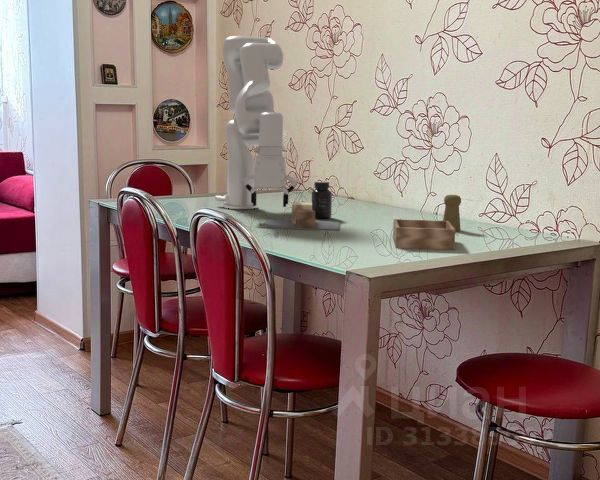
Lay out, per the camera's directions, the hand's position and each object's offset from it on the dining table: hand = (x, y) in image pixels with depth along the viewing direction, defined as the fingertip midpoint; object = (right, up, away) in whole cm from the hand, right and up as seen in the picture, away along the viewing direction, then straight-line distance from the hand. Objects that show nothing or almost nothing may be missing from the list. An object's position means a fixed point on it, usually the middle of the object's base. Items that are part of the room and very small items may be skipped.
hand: (269, 205), depth 248 cm
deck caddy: (+44, -12, -31) cm, 55 cm away
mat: (+10, -6, -4) cm, 12 cm away
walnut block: (+11, -7, -9) cm, 16 cm away
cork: (+57, -8, -7) cm, 57 cm away
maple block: (+7, -2, 0) cm, 8 cm away
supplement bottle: (+17, -4, +13) cm, 21 cm away
